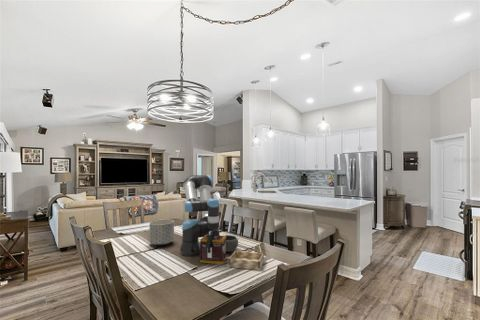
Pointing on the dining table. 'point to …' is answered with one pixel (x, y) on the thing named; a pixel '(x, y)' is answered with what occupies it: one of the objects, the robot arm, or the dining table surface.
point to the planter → (161, 232)
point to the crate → (246, 260)
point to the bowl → (231, 243)
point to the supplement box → (213, 250)
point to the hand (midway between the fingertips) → (213, 253)
